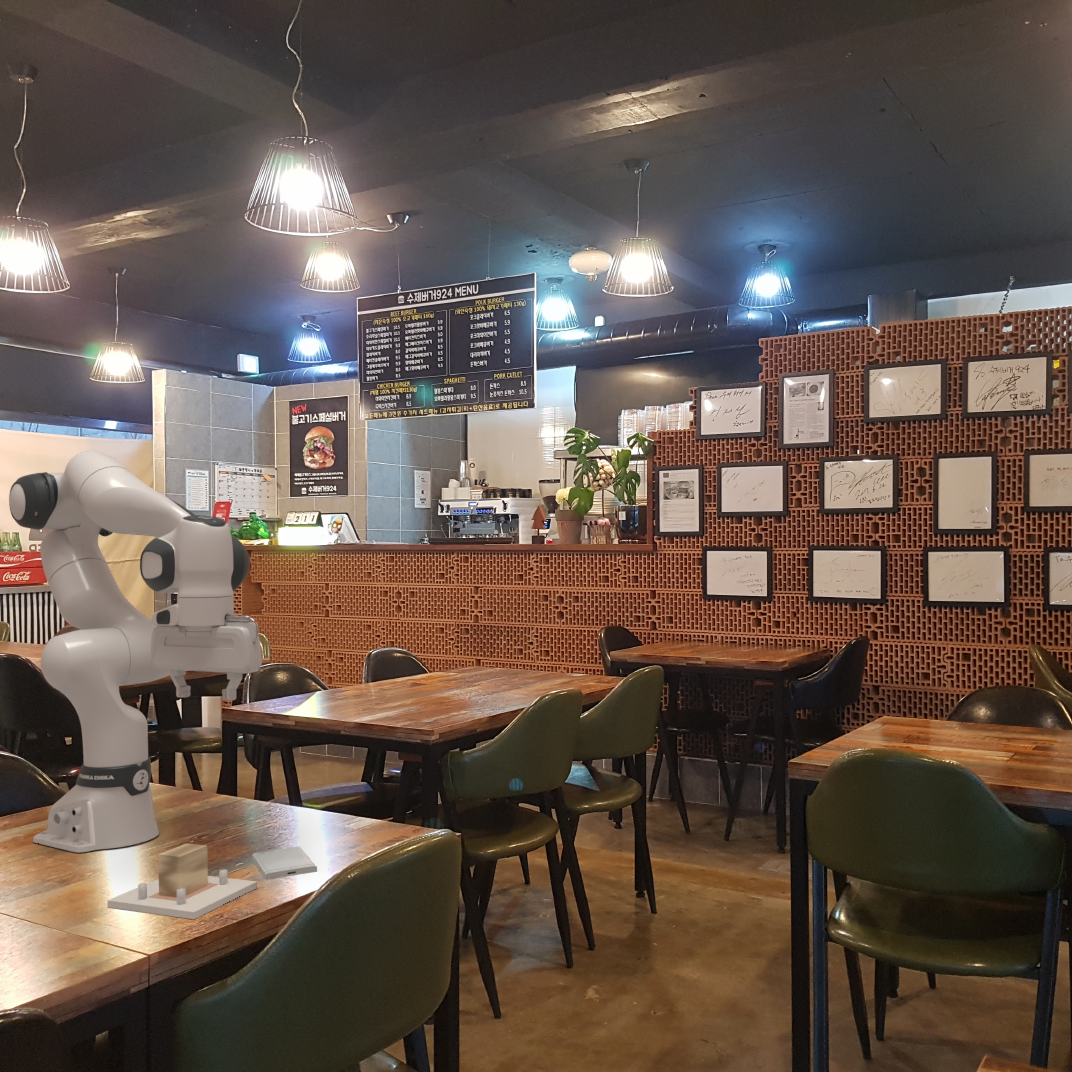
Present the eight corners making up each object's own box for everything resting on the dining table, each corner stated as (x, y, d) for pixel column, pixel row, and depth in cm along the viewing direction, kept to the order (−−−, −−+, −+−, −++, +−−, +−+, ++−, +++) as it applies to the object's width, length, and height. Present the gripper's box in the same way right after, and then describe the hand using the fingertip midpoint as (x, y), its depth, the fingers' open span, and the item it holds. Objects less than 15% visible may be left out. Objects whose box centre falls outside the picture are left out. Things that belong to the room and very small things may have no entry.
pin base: (107, 907, 147) (107, 886, 147) (175, 878, 160) (174, 859, 160) (194, 919, 141) (193, 898, 141) (257, 888, 154) (256, 868, 154)
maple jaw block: (158, 895, 149) (158, 854, 149) (187, 882, 154) (186, 843, 154) (180, 897, 147) (179, 856, 147) (208, 885, 153) (207, 845, 153)
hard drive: (251, 853, 169) (265, 872, 158) (300, 845, 173) (317, 864, 162) (251, 863, 169) (265, 883, 158) (300, 855, 173) (317, 874, 162)
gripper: (269, 614, 163) (270, 699, 163) (171, 611, 171) (171, 692, 171) (244, 616, 157) (245, 704, 157) (143, 614, 165) (144, 698, 165)
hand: (206, 698), depth 164 cm, fingers open, 8 cm apart
